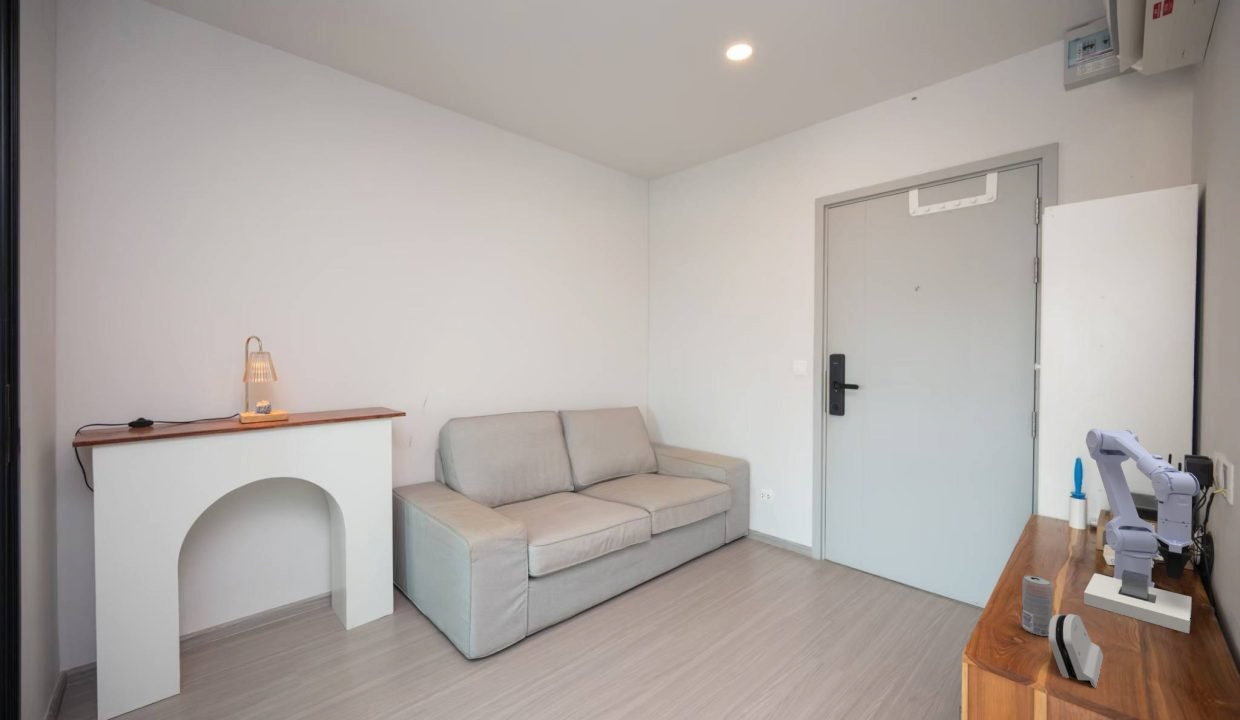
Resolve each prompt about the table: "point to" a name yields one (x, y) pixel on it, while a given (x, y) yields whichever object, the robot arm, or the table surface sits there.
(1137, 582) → the square peg
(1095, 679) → the grey black angular block
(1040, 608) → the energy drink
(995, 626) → the table surface
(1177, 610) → the hole board
